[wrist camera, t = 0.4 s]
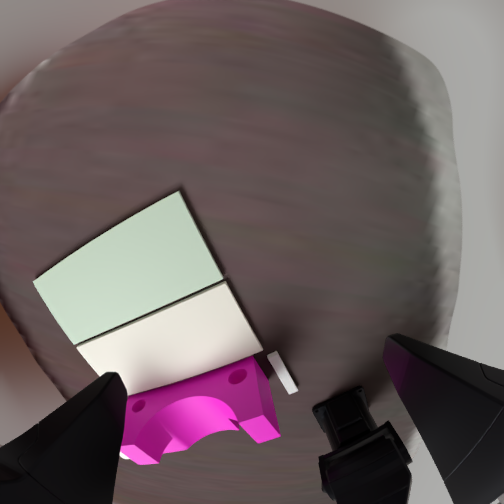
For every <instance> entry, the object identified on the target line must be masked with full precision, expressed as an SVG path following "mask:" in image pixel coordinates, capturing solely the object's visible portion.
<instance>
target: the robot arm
mask: <svg viewBox="0 0 504 504" xmlns="http://www.w3.org/2000/svg"><path fill="white" fill-rule="evenodd" d="M383 360H384V363H385V365H386V367H387V370H388V372H389V374H390V376H391V379H392V381H393V383H394V386H395V388H396V390H397V393H398V395H399V397H400V398H401V400H402V402H403V404H404V406H405V407H406V409H407V411H408V413H409V415H410V416H411V418H412V420H413V422H414V424H415V426H416V427H417V429H418V431H419V433H420V435H421V437H422V439H423V441H424V443H425V445H426V447H427V448H428V450H429V452H430V454H431V456H432V458H433V460H434V462H435V464H436V466H437V468H438V470H439V472H440V475H441V477H442V479H443V481H444V483H445V486H446V488H447V490H448V492H449V494H450V496H451V498H452V501H453V503H454V504H490V503H492V502H493V501H495V500H496V499H497V498H498V500H499V501H500V502H499V503H498V504H504V370H501V369H498V368H495V367H491V366H488V365H485V364H482V363H478V362H476V361H474V360H470V359H468V358H465V357H462V356H459V355H456V354H453V353H450V352H448V351H445V350H442V349H440V348H437V347H434V346H431V345H429V344H426V343H423V342H420V341H418V340H415V339H412V338H409V337H407V336H404V335H401V334H399V333H396V334H392V335H389V336H388V337H387V338H386V341H385V347H384V352H383ZM127 397H128V393H127V389H126V387H125V385H124V383H123V381H122V379H121V377H120V375H119V374H118V373H117V372H105V373H104V374H103V375H101V376H100V377H99V378H97V379H96V380H95V381H93V382H92V383H91V384H89V385H88V386H87V387H85V388H84V389H83V390H81V391H80V392H79V393H77V394H76V395H75V396H73V397H72V398H71V399H69V400H68V401H67V402H65V403H64V404H63V405H62V406H60V407H59V408H57V409H56V410H55V411H53V412H52V413H51V414H49V415H48V416H47V417H45V418H44V419H42V420H41V421H40V422H39V424H36V425H34V426H33V427H32V428H30V429H29V430H28V431H26V432H25V433H23V434H22V435H20V436H19V437H17V438H15V439H14V440H12V441H10V442H9V443H7V444H5V445H4V446H2V447H0V504H112V502H113V494H114V486H115V479H116V473H117V467H118V461H119V455H120V450H121V444H122V439H123V434H124V426H125V415H126V405H127ZM312 412H313V414H314V416H315V417H316V419H317V421H318V423H319V425H320V426H321V428H322V430H323V432H325V433H326V435H327V437H328V440H329V443H330V445H331V448H332V452H330V453H328V454H325V455H321V456H319V463H318V464H319V468H320V474H321V480H322V491H323V492H324V493H327V494H328V495H329V497H330V498H331V499H332V500H333V501H336V502H337V504H408V500H409V495H410V490H411V484H412V475H411V472H410V470H409V468H408V466H407V465H408V464H410V463H411V462H412V459H411V457H410V455H409V453H408V451H407V449H406V447H405V445H404V444H403V442H402V440H401V439H400V437H399V436H398V434H397V433H396V431H395V429H394V428H393V426H392V425H391V423H390V422H389V420H388V421H387V422H385V424H383V425H381V426H380V427H377V425H376V423H375V421H374V419H373V418H372V416H371V414H370V412H369V408H368V404H367V400H366V396H365V392H364V389H363V387H362V386H359V387H356V388H354V389H353V390H351V391H349V392H346V393H344V394H342V395H340V396H338V397H336V398H334V399H332V400H329V401H327V402H325V403H323V404H321V405H318V406H316V407H314V408H313V409H312Z"/></svg>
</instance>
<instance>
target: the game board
mask: <svg viewBox="0 0 504 504" xmlns="http://www.w3.org/2000/svg"><path fill="white" fill-rule="evenodd" d="M222 279H223V275H222V273H221V271H220V269H219V267H218V266H217V264H216V262H215V260H214V258H213V256H212V254H211V252H210V250H209V248H208V246H207V245H206V243H205V241H204V239H203V237H202V235H201V233H200V231H199V229H198V227H197V225H196V223H195V221H194V219H193V217H192V215H191V213H190V211H189V209H188V207H187V205H186V203H185V201H184V199H183V197H182V195H181V193H180V191H178V192H176V193H174V194H172V195H170V196H168V197H166V198H164V199H162V200H161V201H159V202H157V203H155V204H153V205H151V206H150V207H148V208H146V209H144V210H143V211H141V212H139V213H137V214H135V215H134V216H132V217H130V218H129V219H127V220H125V221H123V222H122V223H120V224H118V225H117V226H115V227H113V228H112V229H110V230H109V231H107V232H105V233H104V234H102V235H100V236H99V237H97V238H96V239H94V240H93V241H91V242H89V243H88V244H86V245H85V246H83V247H82V248H80V249H79V250H77V251H76V252H74V253H73V254H71V255H70V256H68V257H67V258H65V259H64V260H62V261H61V262H60V263H58V264H57V265H55V266H54V267H52V268H51V269H50V270H48V271H47V272H46V273H44V274H43V275H41V276H40V277H39V278H37V279H36V280H35V281H33V283H34V285H35V287H36V288H37V290H38V292H39V294H40V295H41V297H42V299H43V300H44V302H45V303H46V305H47V307H48V308H49V310H50V311H51V313H52V314H53V316H54V317H55V319H56V320H57V322H58V323H59V325H60V326H61V328H62V329H63V330H64V332H65V333H66V335H67V336H68V337H69V339H70V340H71V341H72V343H73V344H77V343H79V342H81V341H84V340H86V339H88V338H91V337H93V336H95V335H98V334H100V333H102V332H105V331H107V330H109V329H112V328H114V327H116V326H118V325H121V324H123V323H125V322H128V321H130V320H132V319H135V318H137V317H139V316H141V315H144V314H146V313H148V312H150V311H153V310H155V309H157V308H160V307H162V306H164V305H166V304H169V303H171V302H173V301H175V300H178V299H180V298H182V297H184V296H187V295H189V294H191V293H193V292H195V291H198V290H200V289H202V288H204V287H207V286H209V285H211V284H213V283H215V282H218V281H220V280H222ZM76 348H77V349H78V351H79V352H80V353H81V354H82V356H83V357H84V358H85V359H86V361H87V362H88V363H89V364H90V365H91V367H92V368H93V369H94V370H95V371H96V373H97V374H98V375H99V376H101V375H103V374H104V373H105V372H117V373H118V374H119V375H120V377H121V379H122V381H123V383H124V385H125V387H126V389H127V393H128V395H132V394H135V393H139V392H143V391H147V390H150V389H154V388H157V387H161V386H164V385H167V384H171V383H174V382H177V381H180V380H183V379H187V378H190V377H193V376H196V375H199V374H202V373H205V372H207V371H210V370H213V369H216V368H219V367H221V366H224V365H227V364H230V363H232V362H235V361H238V360H240V359H243V358H245V357H248V356H250V355H253V354H255V353H258V352H260V351H263V348H262V346H261V344H260V342H259V340H258V339H257V337H256V335H255V333H254V331H253V330H252V328H251V326H250V324H249V323H248V321H247V319H246V317H245V315H244V314H243V312H242V310H241V308H240V306H239V305H238V303H237V301H236V299H235V297H234V295H233V294H232V292H231V290H230V288H229V286H228V284H227V282H226V281H224V282H221V283H219V284H217V285H215V286H213V287H210V288H208V289H206V290H204V291H201V292H199V293H197V294H195V295H192V296H190V297H188V298H186V299H183V300H181V301H179V302H177V303H174V304H172V305H170V306H168V307H165V308H163V309H161V310H159V311H156V312H154V313H152V314H149V315H147V316H145V317H142V318H140V319H138V320H136V321H133V322H131V323H129V324H126V325H124V326H122V327H119V328H117V329H115V330H112V331H110V332H108V333H105V334H103V335H101V336H98V337H96V338H93V339H91V340H89V341H86V342H84V343H82V344H79V345H78V346H77V347H76ZM267 357H268V360H269V361H270V363H271V365H272V366H273V368H274V370H275V371H276V373H277V375H278V377H279V378H280V380H281V382H282V383H283V385H284V387H285V388H286V390H287V392H288V393H289V394H291V393H294V392H296V391H298V389H297V387H296V385H295V383H294V381H293V379H292V378H291V376H290V374H289V372H288V370H287V369H286V367H285V365H284V363H283V361H282V359H281V358H280V356H279V354H278V352H277V351H275V352H273V353H271V354H268V355H267Z"/></svg>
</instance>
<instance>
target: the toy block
mask: <svg viewBox="0 0 504 504" xmlns="http://www.w3.org/2000/svg"><path fill="white" fill-rule="evenodd" d="M239 424H240V425H241V426H242V428H243V429H244V430H245V431H246V432H247V433H248V434H249V435H250V436H251V437H252V438H253V439H254V440H255V441H256V442H257V443H261V442H265V441H268V440H271V439H274V438H277V437H280V436H281V435H280V430H279V426H278V422H277V417H276V413H275V408H274V404H273V400H272V395H271V391H270V386H269V382H268V379H267V377H266V376H265V374H264V373H263V371H262V369H261V368H260V366H259V365H258V363H257V361H256V360H255V358H254V357H253V356H251V357H248V358H245V359H243V360H240V361H238V362H235V363H232V364H230V365H227V366H224V367H222V368H219V369H216V370H213V371H210V372H207V373H205V374H202V375H199V376H196V377H193V378H190V379H187V380H183V381H180V382H177V383H174V384H171V385H167V386H164V387H160V388H157V389H153V390H150V391H146V392H143V393H139V394H135V395H131V396H129V397H128V400H127V405H126V415H125V426H124V434H123V439H122V444H121V450H120V452H122V453H123V454H124V455H126V456H127V457H128V458H130V459H131V460H133V461H134V462H136V463H137V464H138V465H144V464H156V463H159V462H160V459H161V456H162V454H163V453H169V452H176V451H182V450H187V449H188V448H189V447H190V446H191V445H192V444H193V443H195V442H196V441H197V440H199V439H201V438H202V437H204V436H206V435H209V434H211V433H214V432H218V431H222V430H239Z"/></svg>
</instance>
